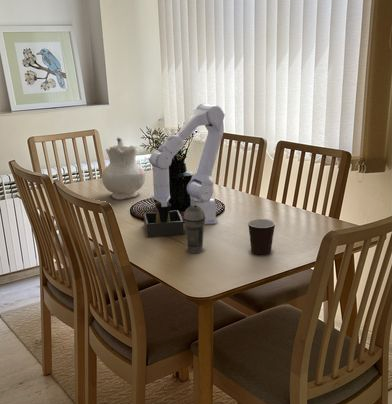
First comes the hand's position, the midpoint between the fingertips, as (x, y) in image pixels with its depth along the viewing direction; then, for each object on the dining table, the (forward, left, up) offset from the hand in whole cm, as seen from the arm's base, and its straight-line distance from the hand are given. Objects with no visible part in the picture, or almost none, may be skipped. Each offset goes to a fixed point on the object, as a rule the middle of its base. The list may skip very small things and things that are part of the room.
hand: (163, 220), depth 202 cm
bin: (0, 0, -4) cm, 4 cm away
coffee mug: (-30, +28, -4) cm, 41 cm away
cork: (0, 0, -4) cm, 4 cm away
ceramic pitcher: (+12, -51, -4) cm, 53 cm away
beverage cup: (-8, +23, -4) cm, 25 cm away
